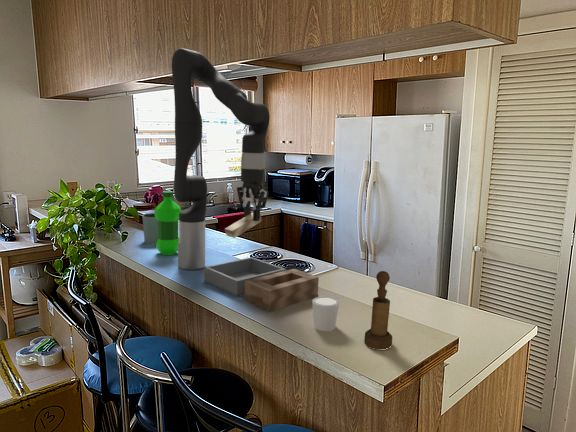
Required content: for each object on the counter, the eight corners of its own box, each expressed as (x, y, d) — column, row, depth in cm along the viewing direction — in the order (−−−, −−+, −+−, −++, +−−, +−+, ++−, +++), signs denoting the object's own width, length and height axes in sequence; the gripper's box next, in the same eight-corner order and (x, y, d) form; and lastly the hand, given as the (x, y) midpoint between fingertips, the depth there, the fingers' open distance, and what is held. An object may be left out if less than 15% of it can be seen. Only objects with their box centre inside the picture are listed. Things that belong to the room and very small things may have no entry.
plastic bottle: (175, 257, 173) (174, 194, 168) (150, 255, 174) (149, 192, 170) (186, 251, 182) (185, 191, 178) (162, 249, 184) (161, 189, 180)
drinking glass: (155, 237, 204) (155, 212, 202) (171, 240, 199) (171, 214, 197) (137, 241, 195) (137, 215, 193) (154, 245, 190) (153, 217, 188)
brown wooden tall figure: (392, 352, 102) (398, 277, 99) (363, 348, 103) (368, 274, 100) (391, 339, 108) (397, 268, 105) (364, 336, 110) (369, 266, 106)
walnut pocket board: (268, 311, 123) (269, 291, 122) (244, 300, 131) (244, 281, 129) (317, 295, 136) (318, 277, 135) (292, 286, 144) (293, 268, 143)
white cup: (318, 334, 110) (320, 307, 109) (306, 323, 116) (307, 297, 115) (342, 330, 113) (344, 304, 111) (329, 319, 119) (331, 294, 118)
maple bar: (234, 238, 138) (232, 231, 137) (226, 235, 141) (224, 228, 140) (262, 221, 145) (260, 214, 144) (254, 219, 148) (252, 212, 147)
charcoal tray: (237, 297, 133) (237, 281, 132) (204, 281, 146) (204, 267, 145) (285, 283, 147) (286, 269, 146) (251, 270, 159) (251, 257, 159)
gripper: (230, 165, 144) (229, 217, 147) (258, 169, 133) (256, 224, 137) (248, 165, 149) (247, 215, 152) (276, 168, 139) (274, 222, 142)
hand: (251, 219), depth 144 cm, fingers closed on maple bar, 4 cm apart
